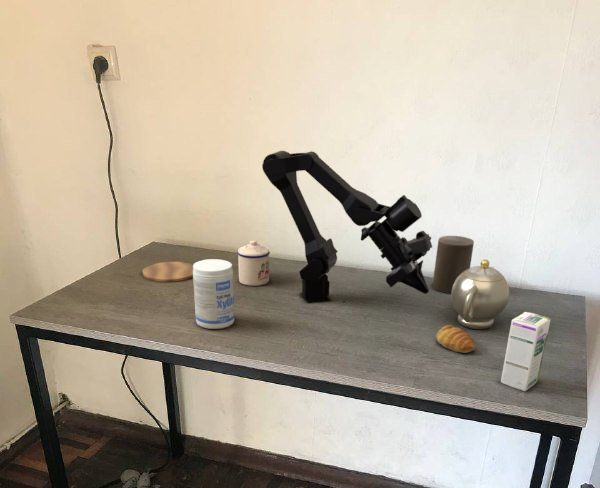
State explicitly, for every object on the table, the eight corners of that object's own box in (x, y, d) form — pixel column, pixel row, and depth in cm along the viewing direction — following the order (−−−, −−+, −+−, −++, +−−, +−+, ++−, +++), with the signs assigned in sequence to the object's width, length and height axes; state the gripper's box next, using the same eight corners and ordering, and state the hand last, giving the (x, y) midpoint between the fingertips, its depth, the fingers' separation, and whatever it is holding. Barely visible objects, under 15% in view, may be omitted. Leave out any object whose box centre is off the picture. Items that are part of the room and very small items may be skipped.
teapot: (458, 308, 168) (467, 247, 160) (510, 319, 162) (522, 256, 154) (434, 331, 154) (442, 266, 146) (489, 344, 149) (501, 277, 140)
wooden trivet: (145, 284, 179) (145, 281, 179) (140, 266, 193) (140, 263, 192) (201, 279, 184) (201, 276, 183) (193, 262, 197) (193, 259, 196)
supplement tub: (225, 332, 152) (222, 273, 144) (189, 327, 154) (184, 268, 147) (240, 318, 160) (239, 260, 152) (206, 313, 162) (202, 256, 155)
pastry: (481, 351, 146) (484, 335, 144) (459, 357, 142) (462, 342, 141) (453, 336, 152) (455, 321, 150) (431, 342, 149) (433, 327, 147)
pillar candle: (445, 295, 176) (452, 241, 168) (425, 284, 184) (432, 232, 176) (474, 291, 179) (482, 238, 172) (453, 280, 187) (461, 229, 180)
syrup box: (525, 392, 129) (540, 326, 122) (498, 382, 132) (511, 318, 125) (537, 382, 133) (552, 318, 125) (511, 373, 136) (524, 310, 129)
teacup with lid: (263, 288, 178) (263, 247, 172) (233, 284, 180) (232, 243, 175) (277, 274, 188) (277, 235, 182) (248, 271, 190) (247, 232, 185)
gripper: (404, 232, 145) (445, 286, 147) (423, 214, 160) (460, 263, 162) (368, 260, 152) (408, 312, 154) (390, 240, 167) (426, 287, 169)
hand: (427, 292), depth 160 cm, fingers closed
